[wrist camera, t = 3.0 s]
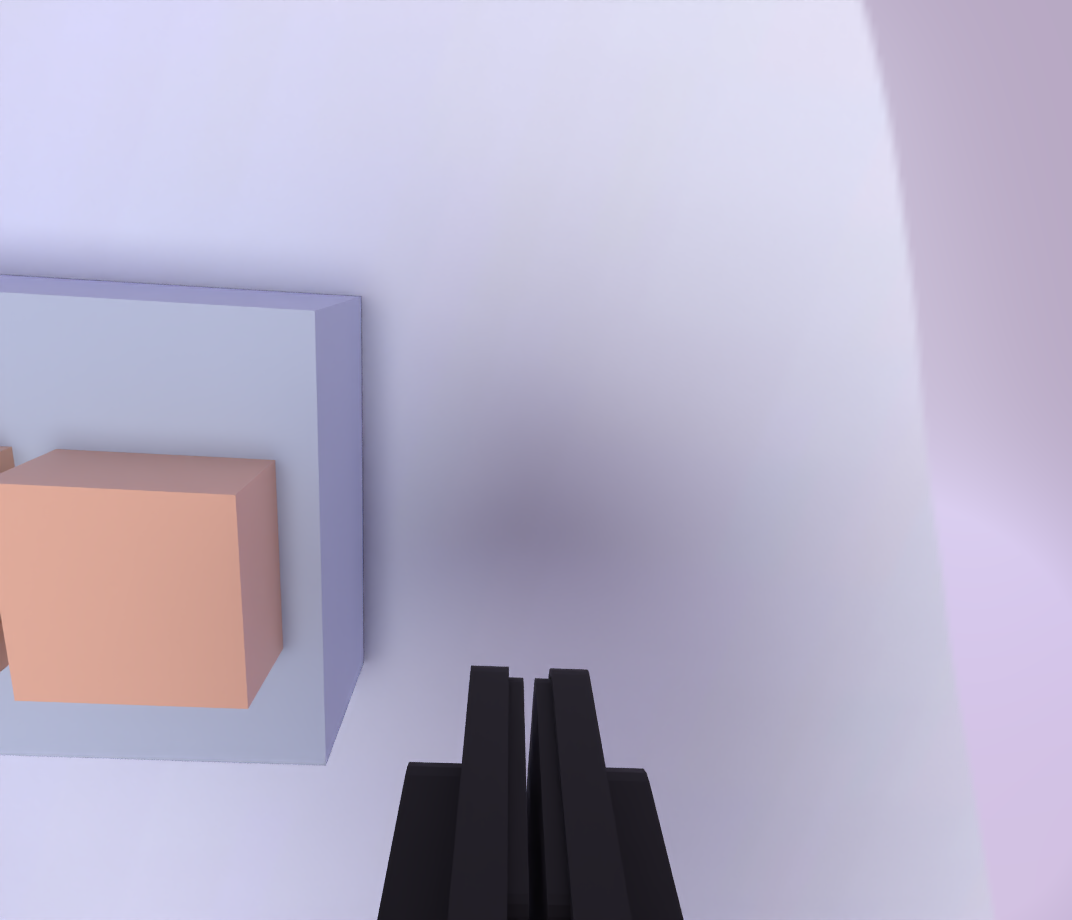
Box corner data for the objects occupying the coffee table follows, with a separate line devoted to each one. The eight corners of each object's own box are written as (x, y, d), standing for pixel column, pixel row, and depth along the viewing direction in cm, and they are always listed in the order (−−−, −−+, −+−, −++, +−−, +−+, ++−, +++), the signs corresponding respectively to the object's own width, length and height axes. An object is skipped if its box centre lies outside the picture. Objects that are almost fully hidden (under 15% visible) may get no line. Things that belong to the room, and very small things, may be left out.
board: (361, 296, 21) (314, 311, 16) (363, 662, 24) (325, 765, 19) (-181, 263, 20) (-400, 268, 15) (-101, 644, 23) (-259, 746, 19)
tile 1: (274, 460, 17) (235, 494, 14) (283, 648, 18) (248, 708, 16) (56, 448, 17) (-22, 482, 14) (81, 640, 18) (14, 700, 16)
